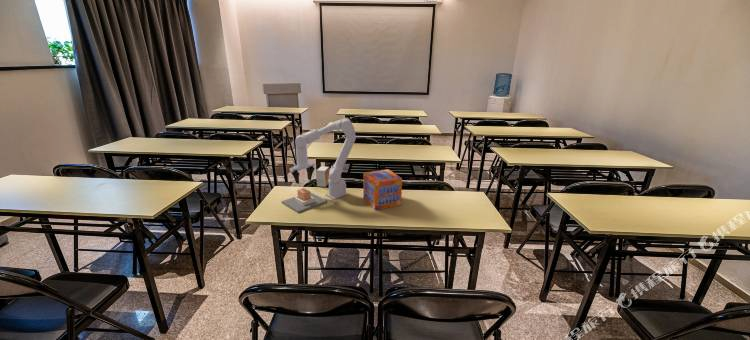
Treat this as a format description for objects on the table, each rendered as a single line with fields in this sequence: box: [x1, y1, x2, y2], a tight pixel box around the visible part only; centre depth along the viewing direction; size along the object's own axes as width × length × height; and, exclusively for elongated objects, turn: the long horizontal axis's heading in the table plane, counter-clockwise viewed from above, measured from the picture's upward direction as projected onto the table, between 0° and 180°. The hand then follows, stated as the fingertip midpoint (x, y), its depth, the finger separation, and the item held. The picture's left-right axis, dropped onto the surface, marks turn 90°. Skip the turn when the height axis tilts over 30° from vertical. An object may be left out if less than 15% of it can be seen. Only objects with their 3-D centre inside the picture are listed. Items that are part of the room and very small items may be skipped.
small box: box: [316, 165, 330, 188], centre depth 188 cm, size 8×6×10 cm
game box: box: [362, 169, 403, 211], centre depth 165 cm, size 16×16×16 cm
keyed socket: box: [281, 191, 328, 214], centre depth 164 cm, size 18×16×3 cm
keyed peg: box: [297, 187, 311, 201], centre depth 163 cm, size 6×4×6 cm, turn 46°
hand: (303, 181), depth 168 cm, fingers open, 7 cm apart
